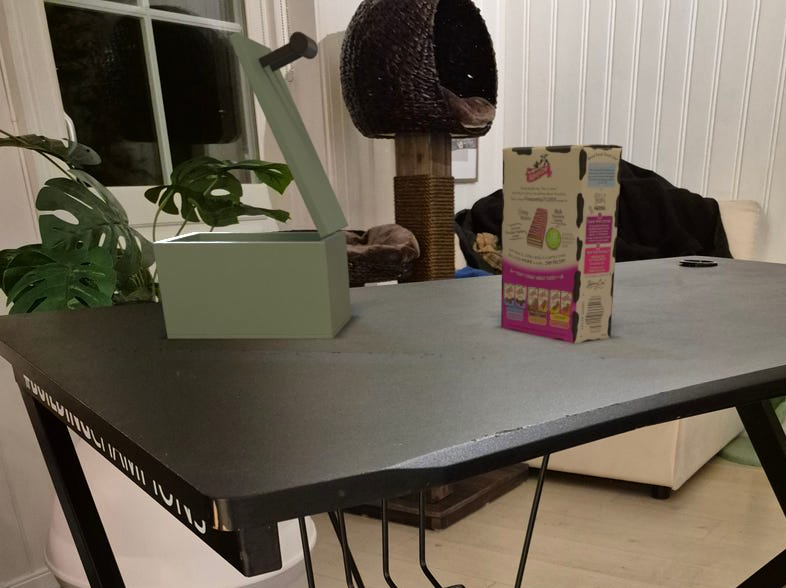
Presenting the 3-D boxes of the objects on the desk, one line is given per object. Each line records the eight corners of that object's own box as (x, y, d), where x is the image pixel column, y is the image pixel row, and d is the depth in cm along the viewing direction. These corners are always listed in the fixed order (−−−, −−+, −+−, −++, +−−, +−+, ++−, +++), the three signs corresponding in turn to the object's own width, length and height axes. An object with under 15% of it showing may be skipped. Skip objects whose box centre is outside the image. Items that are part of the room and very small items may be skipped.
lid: (228, 36, 74) (286, 5, 73) (263, 52, 85) (314, 25, 84) (320, 238, 81) (375, 213, 80) (341, 228, 92) (389, 206, 91)
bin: (168, 344, 85) (152, 242, 81) (206, 322, 96) (193, 232, 92) (333, 344, 85) (325, 242, 81) (351, 322, 96) (345, 231, 92)
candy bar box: (613, 342, 85) (626, 144, 77) (574, 349, 82) (583, 144, 75) (536, 327, 93) (540, 145, 85) (498, 332, 90) (499, 145, 83)
